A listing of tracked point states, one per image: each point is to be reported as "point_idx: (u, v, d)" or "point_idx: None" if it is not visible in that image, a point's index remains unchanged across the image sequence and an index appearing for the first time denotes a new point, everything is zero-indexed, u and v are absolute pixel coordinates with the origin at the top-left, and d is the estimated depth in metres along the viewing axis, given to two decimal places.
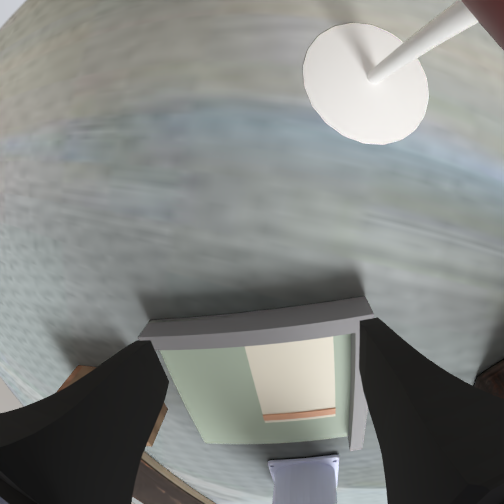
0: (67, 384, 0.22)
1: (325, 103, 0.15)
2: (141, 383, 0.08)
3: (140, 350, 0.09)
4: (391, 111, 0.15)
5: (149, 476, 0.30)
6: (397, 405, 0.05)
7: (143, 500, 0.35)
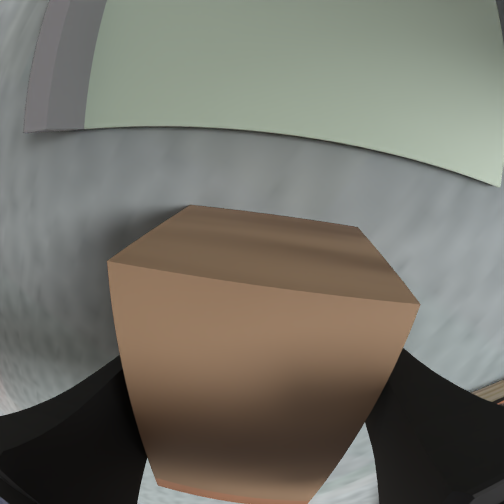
0: None
1: None
2: None
3: None
4: None
5: None
6: (387, 407, 0.05)
7: None
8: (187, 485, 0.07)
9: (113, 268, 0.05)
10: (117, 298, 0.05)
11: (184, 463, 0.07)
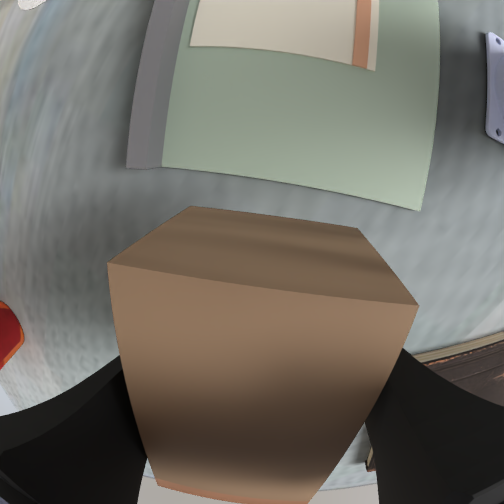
0: None
1: None
2: None
3: None
4: None
5: (467, 376, 0.17)
6: (387, 407, 0.05)
7: None
8: (187, 485, 0.07)
9: (113, 269, 0.05)
10: (117, 300, 0.05)
11: (184, 463, 0.07)
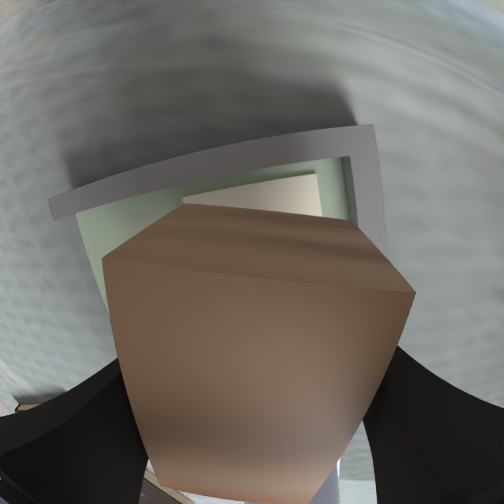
0: None
1: None
2: None
3: None
4: None
5: None
6: (385, 408, 0.05)
7: None
8: (189, 485, 0.07)
9: (108, 265, 0.05)
10: (112, 296, 0.05)
11: (185, 462, 0.07)
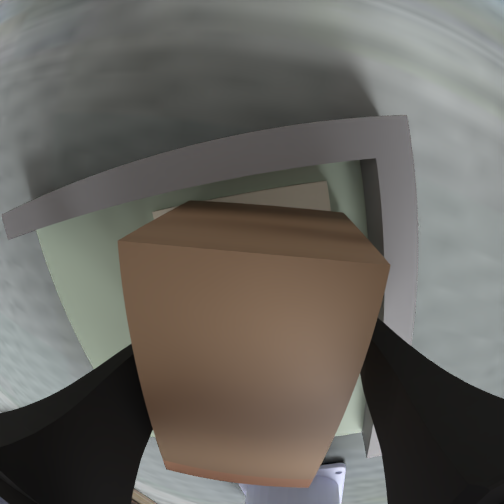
0: None
1: None
2: None
3: None
4: None
5: None
6: (397, 405, 0.05)
7: None
8: (194, 466, 0.08)
9: (122, 246, 0.06)
10: (126, 274, 0.06)
11: (190, 440, 0.08)
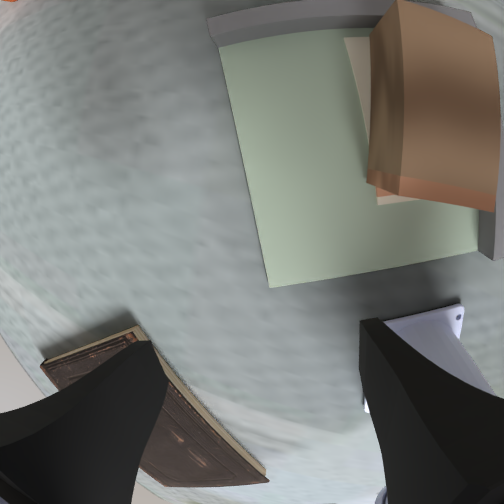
0: (385, 175, 0.12)
1: None
2: (141, 383, 0.08)
3: (140, 350, 0.09)
4: None
5: None
6: (397, 405, 0.05)
7: (147, 467, 0.27)
8: (425, 178, 0.10)
9: (400, 0, 0.08)
10: (401, 11, 0.08)
11: (429, 133, 0.09)
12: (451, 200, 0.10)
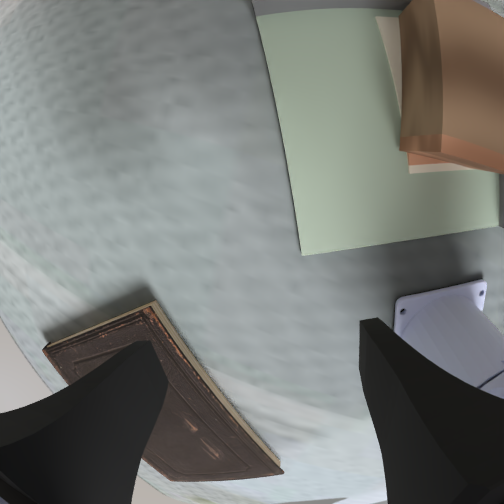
0: (424, 137, 0.11)
1: None
2: (141, 383, 0.08)
3: (140, 350, 0.09)
4: None
5: (176, 389, 0.21)
6: (397, 405, 0.05)
7: (154, 460, 0.26)
8: (463, 138, 0.09)
9: None
10: None
11: (464, 98, 0.09)
12: (485, 161, 0.10)
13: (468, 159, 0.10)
